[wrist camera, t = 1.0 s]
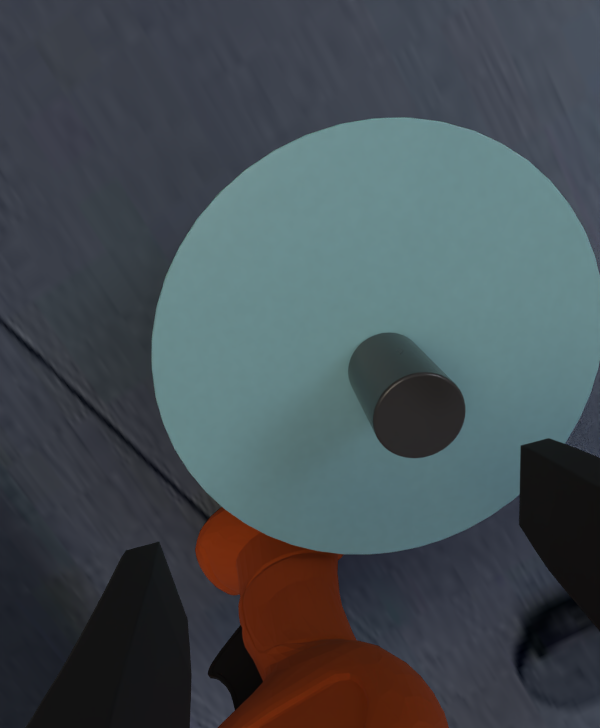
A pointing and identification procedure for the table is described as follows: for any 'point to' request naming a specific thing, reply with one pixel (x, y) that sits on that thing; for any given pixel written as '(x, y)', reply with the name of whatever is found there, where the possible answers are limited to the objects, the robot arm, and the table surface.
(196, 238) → the lid
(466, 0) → the table surface
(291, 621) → the toy drill
